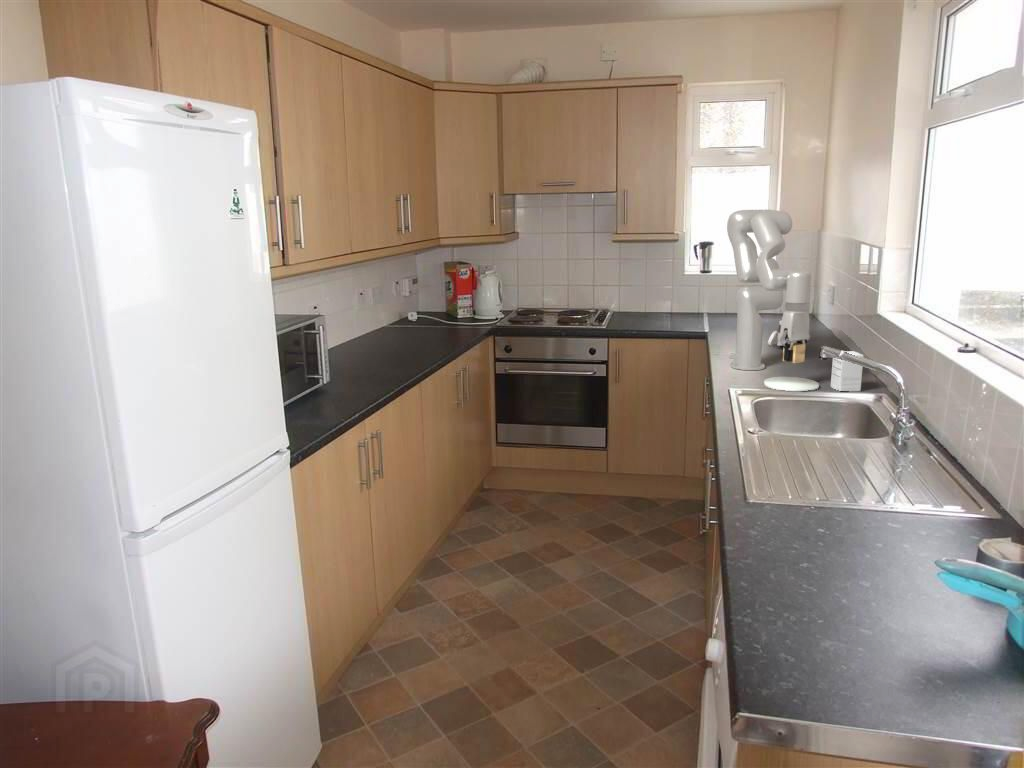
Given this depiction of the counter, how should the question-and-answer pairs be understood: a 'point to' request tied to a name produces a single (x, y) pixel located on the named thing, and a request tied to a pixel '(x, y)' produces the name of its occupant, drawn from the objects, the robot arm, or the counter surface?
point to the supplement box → (846, 374)
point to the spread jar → (775, 336)
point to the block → (797, 353)
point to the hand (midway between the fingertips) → (793, 359)
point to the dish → (791, 384)
